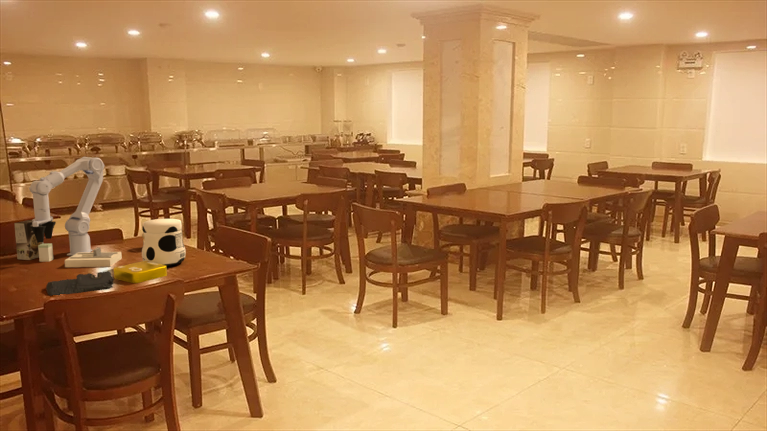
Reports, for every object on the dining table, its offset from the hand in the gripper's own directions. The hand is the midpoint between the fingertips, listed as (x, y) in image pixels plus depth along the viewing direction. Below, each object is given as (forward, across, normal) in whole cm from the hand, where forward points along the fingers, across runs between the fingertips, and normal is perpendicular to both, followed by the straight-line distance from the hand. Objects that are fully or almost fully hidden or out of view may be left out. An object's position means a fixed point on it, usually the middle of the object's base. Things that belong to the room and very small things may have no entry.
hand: (44, 240), depth 265 cm
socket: (+9, +6, +21) cm, 23 cm away
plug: (+9, 0, 0) cm, 9 cm away
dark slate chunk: (+10, +43, +31) cm, 54 cm away
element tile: (+9, +30, +48) cm, 57 cm away
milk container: (+9, +10, +52) cm, 54 cm away
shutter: (+6, +6, +26) cm, 27 cm away
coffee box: (+9, -6, -9) cm, 14 cm away
